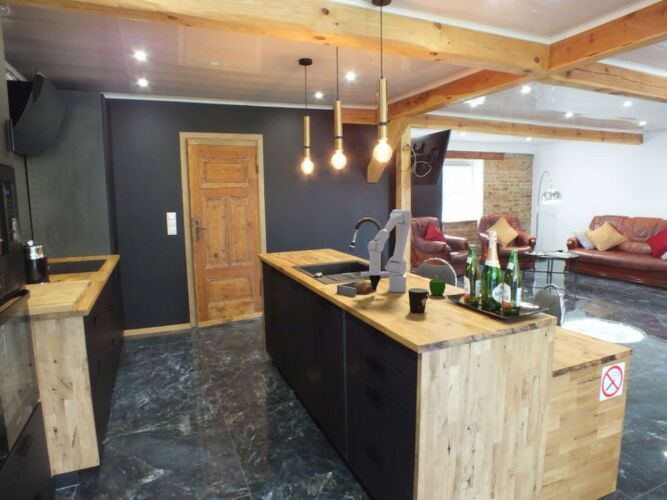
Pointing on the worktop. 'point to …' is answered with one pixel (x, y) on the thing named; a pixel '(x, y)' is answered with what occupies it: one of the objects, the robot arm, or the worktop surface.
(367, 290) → the bread roll
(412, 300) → the coffee mug
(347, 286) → the box
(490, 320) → the worktop surface
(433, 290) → the bell pepper
